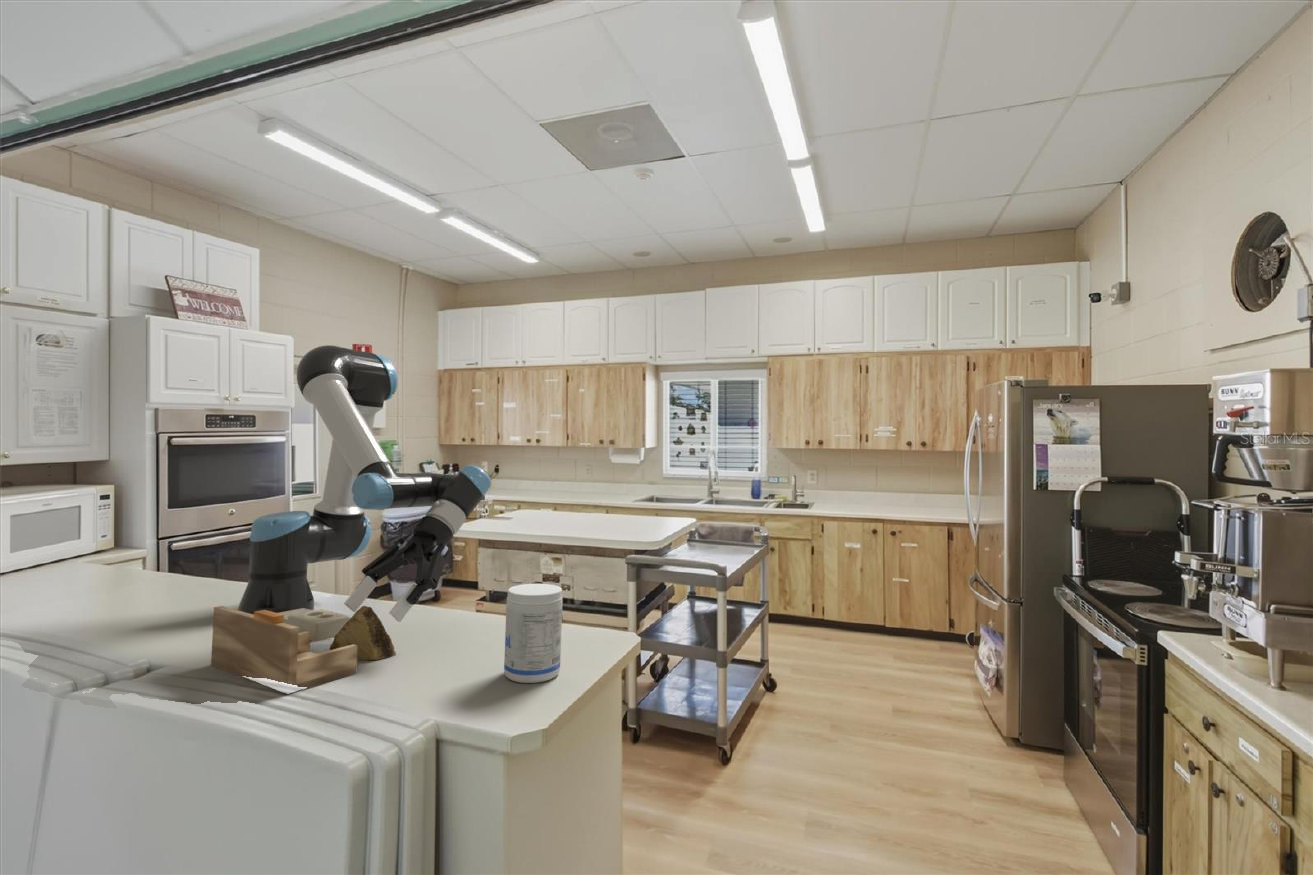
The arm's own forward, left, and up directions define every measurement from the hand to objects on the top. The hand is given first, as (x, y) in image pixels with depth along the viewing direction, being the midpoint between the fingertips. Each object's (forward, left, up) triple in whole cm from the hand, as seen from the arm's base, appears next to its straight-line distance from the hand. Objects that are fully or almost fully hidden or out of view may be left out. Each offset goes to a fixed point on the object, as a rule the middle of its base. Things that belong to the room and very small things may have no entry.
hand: (371, 612), depth 111 cm
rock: (+2, 0, -8) cm, 8 cm away
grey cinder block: (-3, -25, -8) cm, 26 cm away
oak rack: (+13, -5, -8) cm, 16 cm away
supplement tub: (-8, +33, -8) cm, 35 cm away
